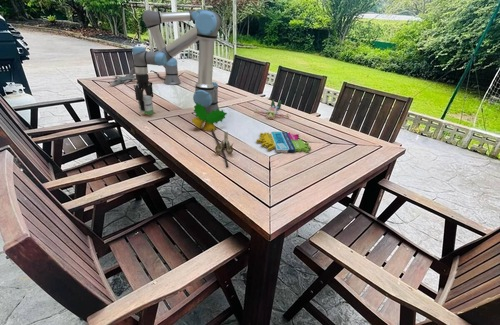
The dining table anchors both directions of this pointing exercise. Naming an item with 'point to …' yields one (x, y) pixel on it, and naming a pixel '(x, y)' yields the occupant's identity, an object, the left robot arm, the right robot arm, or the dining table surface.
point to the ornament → (207, 117)
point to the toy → (272, 110)
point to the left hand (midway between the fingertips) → (202, 50)
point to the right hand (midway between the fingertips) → (146, 109)
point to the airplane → (124, 78)
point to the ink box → (147, 105)
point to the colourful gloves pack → (283, 142)
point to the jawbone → (224, 145)
